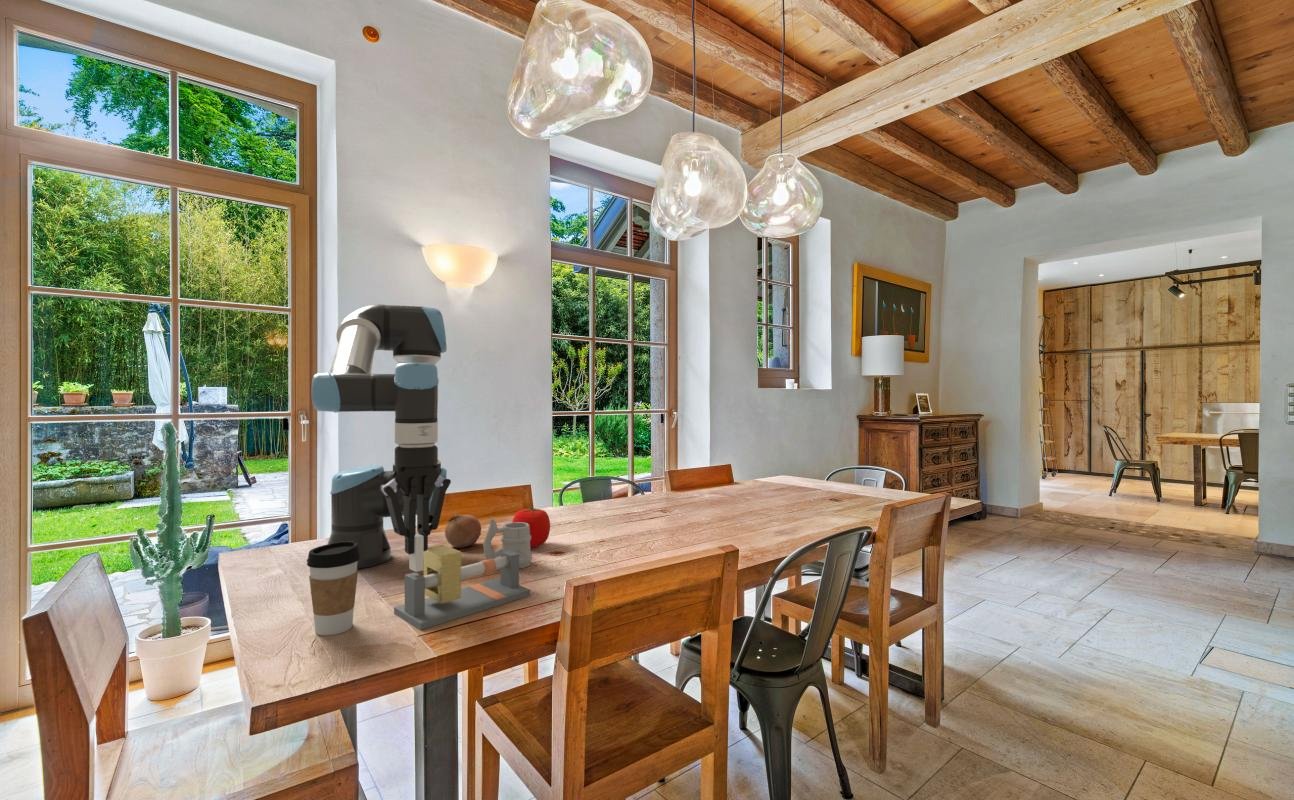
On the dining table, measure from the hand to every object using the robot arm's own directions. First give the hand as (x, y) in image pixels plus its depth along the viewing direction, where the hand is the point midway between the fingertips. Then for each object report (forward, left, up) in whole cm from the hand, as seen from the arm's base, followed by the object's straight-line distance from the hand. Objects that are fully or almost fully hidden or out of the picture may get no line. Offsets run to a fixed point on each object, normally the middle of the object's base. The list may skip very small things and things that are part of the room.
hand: (416, 569), depth 108 cm
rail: (0, +10, -9) cm, 14 cm away
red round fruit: (-25, +44, -10) cm, 52 cm away
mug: (-15, +30, -10) cm, 35 cm away
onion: (-38, +31, -10) cm, 50 cm away
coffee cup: (-6, -12, -10) cm, 17 cm away
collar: (0, +5, -7) cm, 8 cm away
